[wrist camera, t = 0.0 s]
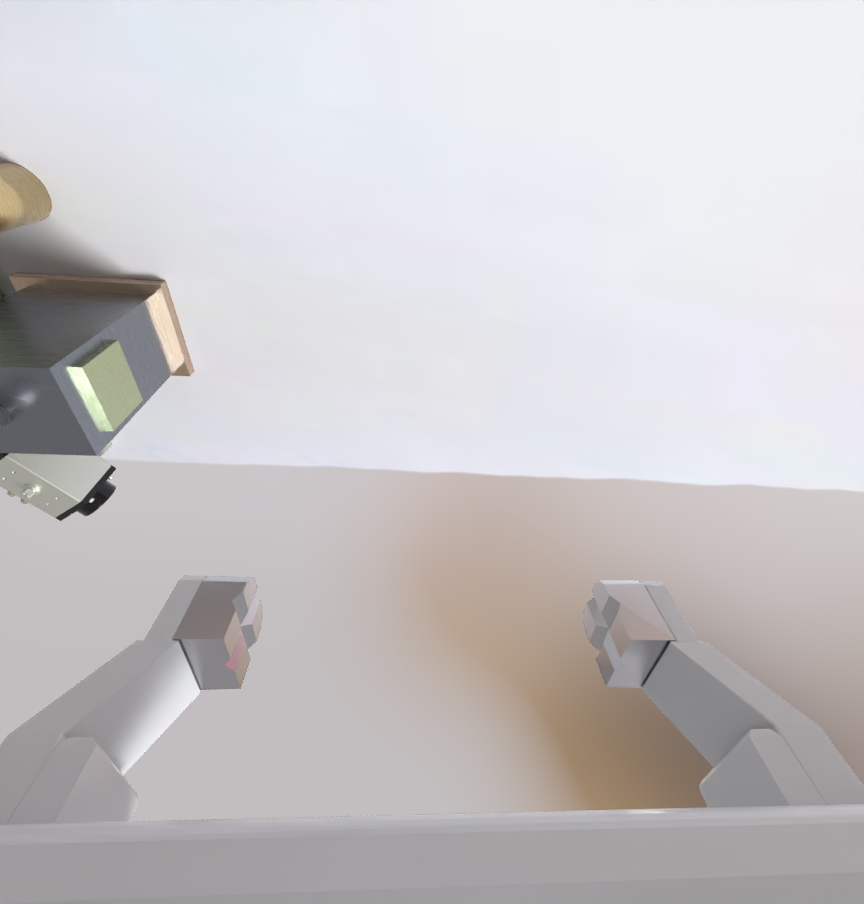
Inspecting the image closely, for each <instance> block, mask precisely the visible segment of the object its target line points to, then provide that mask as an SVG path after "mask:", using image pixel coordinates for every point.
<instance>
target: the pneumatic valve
mask: <svg viewBox="0 0 864 904" xmlns="http://www.w3.org/2000/svg"><path fill="white" fill-rule="evenodd" d="M111 445H112V444H111V443H110V442H109V443H108V444H107V445H106V446H105V448H104V449H103V450H102V451H101V452H100V453H99V454H98V455H97V456H85V455H52V454H19V453H0V486H1V487H3V488H5V489H6V490H8V495H9V496H12V497H13V496H16V495H17V496H19V497H20V498H21V503H23V504H27V503H31V504H32V505H34V506H36V507H38V508H39V509H41V510H43V511H44V512H46V513H48V514H50V515H51V516H53V517H55V518H56V519H58V520H60V521H61V520H63V519H64V518H66V517H68V516H70V515H72V514H73V513H74V512H76V511H78V512H79V513H81V514H83V515H84V516H88V515H90V514H92V513H93V512H94V511H96V510H97V509H98V508H99V507H100V506H101V505H103V504H104V503H105V502H106V501H107V500H108V499H109V497H110V496H111V495H112V494H113V493H114V491H115V489H116V486H114V485H113V484H111V483H110V482H108V481H107V479H112V478H113V475H111V474H112V473H113V472H114V471H115V469H116V468H115V467H113V466H112V465H110V464H109V463H108V462H106V461H105V460H103V459H102V458H101V457H100V456H101V455H102V454H104V453H105V452H106V451H107V450H108V449H109V448H110V447H111Z"/></svg>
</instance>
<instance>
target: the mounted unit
mask: <svg viewBox="0 0 864 904" xmlns="http://www.w3.org/2000/svg"><path fill="white" fill-rule="evenodd" d="M8 277H9V279H10V281H11V283H12V285H13V287H14V289H15V290H16V292H14V293H12V294H10V295H8V296H6V297H4V298H1V299H0V453H19V454H52V455H85V456H97V455H98V454H99V453H100V452H101V451H102V450H103V449H104V448H105V446H106V445H107V444H108V443H109V442H110V441H111V440H112V439H113V438H114V437H115V436H116V435H117V433H118V432H119V431H120V430H121V429H122V428H123V427H124V426H125V425H126V424H127V423H128V421H129V420H130V419H131V418H132V417H133V416H134V415H135V414H136V413H137V412H138V411H139V409H140V408H141V407H142V406H143V405H144V404H145V403H146V402H147V401H148V400H149V399H150V397H151V396H152V395H153V394H154V393H155V392H156V391H157V390H158V389H159V388H160V387H161V385H162V384H163V383H164V382H165V381H166V380H167V379H168V378H169V377H170V376H171V375H174V376H190V375H191V374H192V373H193V372H194V369H193V366H192V363H191V360H190V356H189V353H188V350H187V347H186V344H185V340H184V337H183V334H182V331H181V328H180V324H179V321H178V318H177V315H176V312H175V309H174V305H173V302H172V299H171V296H170V293H169V289H168V286H167V283H166V281H155V280H137V279H119V278H101V277H83V276H65V275H47V274H30V273H16V274H13V275H11V276H8Z"/></svg>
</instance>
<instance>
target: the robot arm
mask: <svg viewBox="0 0 864 904" xmlns="http://www.w3.org/2000/svg"><path fill="white" fill-rule="evenodd" d="M256 589H257V584H256V581H255V578H252V577H228V576H193V575H191V576H190V575H185V576H184V577H183V578H182V579H180V580H179V581H178V583H177V585H176V587H175V588H174V590H173V591H172V593H171V595H170V597H169V599H168V600H167V602H166V603H165V605H164V607H163V609H162V610H161V612H160V614H159V616H158V617H157V619H156V621H155V622H154V624H153V626H152V628H151V629H150V631H149V633H148V634H147V636H146V638H145V640H137V641H135V642H134V643H133V644H131V645H130V646H129V647H127V648H126V649H125V650H123V651H122V652H120V653H119V654H118V655H116V656H115V657H114V658H112V659H111V660H110V661H108V662H107V663H105V664H104V665H103V666H101V667H100V668H99V669H97V670H96V671H95V672H93V673H92V674H91V675H89V676H88V677H86V678H85V679H84V680H82V681H81V682H80V683H78V684H77V685H76V686H74V687H73V688H72V689H70V690H69V691H68V692H66V693H65V694H63V695H62V696H61V697H59V698H58V699H56V700H55V701H54V702H52V703H51V704H50V705H48V706H47V707H46V708H44V709H43V710H42V711H40V712H39V713H37V714H36V715H35V716H33V717H32V718H31V719H29V720H28V721H27V722H25V723H24V724H22V725H21V726H20V727H18V728H17V729H16V730H14V731H13V732H12V733H10V734H9V735H8V736H7V737H6V739H5V740H4V741H3V742H2V744H1V745H0V904H864V786H863V784H862V783H861V782H860V781H859V779H858V778H857V776H856V775H855V774H854V772H853V771H852V769H851V768H850V767H849V765H848V764H847V763H846V761H845V760H844V759H843V757H842V756H841V754H840V753H839V752H838V750H837V749H836V748H835V746H834V745H833V744H832V742H831V741H830V739H829V738H828V737H827V736H826V734H825V733H824V731H823V730H822V729H821V727H820V726H818V725H817V724H816V723H814V722H813V721H812V720H810V719H809V718H808V717H806V716H805V715H804V714H802V713H801V712H799V711H798V710H797V709H796V708H794V707H793V706H792V705H790V704H789V703H787V702H786V701H785V700H783V699H782V698H781V697H779V696H778V695H777V694H775V693H774V692H773V691H771V690H770V689H768V688H767V687H766V686H765V685H763V684H762V683H761V682H759V681H758V680H757V679H755V678H754V677H753V676H751V675H750V674H748V673H747V672H746V671H745V670H743V669H742V668H740V667H739V666H738V665H736V664H735V663H734V662H732V661H731V660H730V659H728V658H727V657H726V656H724V655H723V654H722V653H720V652H719V651H718V650H716V649H715V648H714V647H712V646H711V645H710V644H708V643H707V642H704V641H699V640H698V638H697V637H696V635H695V633H694V632H693V630H692V629H691V627H690V625H689V624H688V622H687V621H686V619H685V617H684V616H683V614H682V612H681V611H680V609H679V608H678V606H677V605H676V603H675V601H674V600H673V598H672V596H671V595H670V593H669V592H668V590H667V588H666V587H665V585H664V584H663V583H661V582H660V581H636V580H632V581H631V580H629V581H628V580H625V581H624V580H619V581H618V580H617V581H616V580H615V581H614V580H613V581H612V580H610V581H609V580H608V581H597V582H596V583H595V584H594V586H593V589H592V592H593V595H594V598H593V599H591V600H590V601H589V602H587V604H586V607H585V610H584V627H585V631H586V634H587V637H588V640H589V642H590V643H591V644H592V645H593V646H594V647H595V648H597V649H598V650H599V651H598V654H597V657H596V661H597V664H598V666H599V669H600V672H601V674H602V677H603V679H604V682H605V685H606V687H641V688H642V691H643V692H644V693H645V694H646V695H647V696H648V697H649V698H650V699H651V700H652V701H653V702H654V703H655V705H656V706H657V707H658V708H659V709H660V710H661V711H662V712H663V713H664V714H665V715H666V716H667V717H668V719H669V720H670V721H671V722H672V723H673V724H674V725H675V726H676V727H677V728H678V729H679V730H680V731H681V732H682V734H683V735H684V736H685V737H686V738H687V739H688V740H689V741H690V742H691V743H692V744H693V745H694V747H696V749H697V750H698V751H699V752H700V753H701V754H702V755H703V756H704V757H705V758H706V759H707V760H708V762H709V763H710V764H711V765H712V766H713V767H714V768H713V769H712V770H711V772H710V773H709V774H708V775H707V776H706V777H705V778H704V779H703V780H702V781H701V784H700V786H699V789H700V791H701V793H702V796H703V798H704V800H705V802H706V804H707V807H708V808H676V809H675V808H670V809H628V810H592V811H591V810H586V811H544V812H503V813H462V814H420V815H378V816H339V817H338V816H336V817H297V818H295V817H294V818H255V819H212V820H173V821H172V820H171V821H132V822H131V821H130V820H131V818H132V816H133V813H134V811H135V809H136V806H137V804H138V802H139V798H138V795H137V792H136V791H135V790H134V789H133V787H132V786H131V785H130V784H129V782H128V781H127V780H126V778H125V777H124V776H123V775H124V774H125V772H127V771H128V769H129V768H130V767H131V766H132V765H133V764H134V763H135V762H136V761H137V760H138V759H139V758H140V757H141V756H142V754H143V753H144V752H145V751H146V750H147V749H148V748H149V747H150V746H151V745H152V744H153V743H154V742H155V741H156V740H157V738H158V737H159V736H160V735H161V734H162V733H163V732H164V731H165V730H166V729H167V728H168V727H169V726H170V725H171V723H172V722H173V721H174V720H175V719H176V718H177V717H178V716H179V715H180V714H181V713H182V712H183V711H184V709H186V707H187V706H188V705H189V704H190V703H191V702H192V701H193V700H194V699H195V698H196V697H197V696H198V695H199V693H200V690H211V689H239V688H241V685H242V683H243V680H244V677H245V674H246V671H247V668H248V665H249V662H250V657H249V653H248V648H249V647H251V646H252V645H253V644H254V643H255V642H256V641H257V638H258V635H259V632H260V628H261V621H262V605H261V600H260V599H258V598H257V597H256V596H255V593H256Z"/></svg>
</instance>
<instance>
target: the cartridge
mask: <svg viewBox="0 0 864 904" xmlns="http://www.w3.org/2000/svg"><path fill="white" fill-rule="evenodd" d="M51 209H52V204H51V199H50V196H49V194H48V192H47V190H46V188H45V186H44V185H43V184H42V182H41V181H40V180H39V179H38V178H37V177H36V176H35V175H34V174H33V173H31V172H30V171H29V170H27V169H25V168H24V167H22V166H19V165H17V164H13V163H0V232H3V231H7V230H10V229H14V228H17V227H20V226H24V225H27V224H30V223H34V222H37V221H40V220H43V219H45V218H47V217H48V216H49V214H50V212H51Z"/></svg>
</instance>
